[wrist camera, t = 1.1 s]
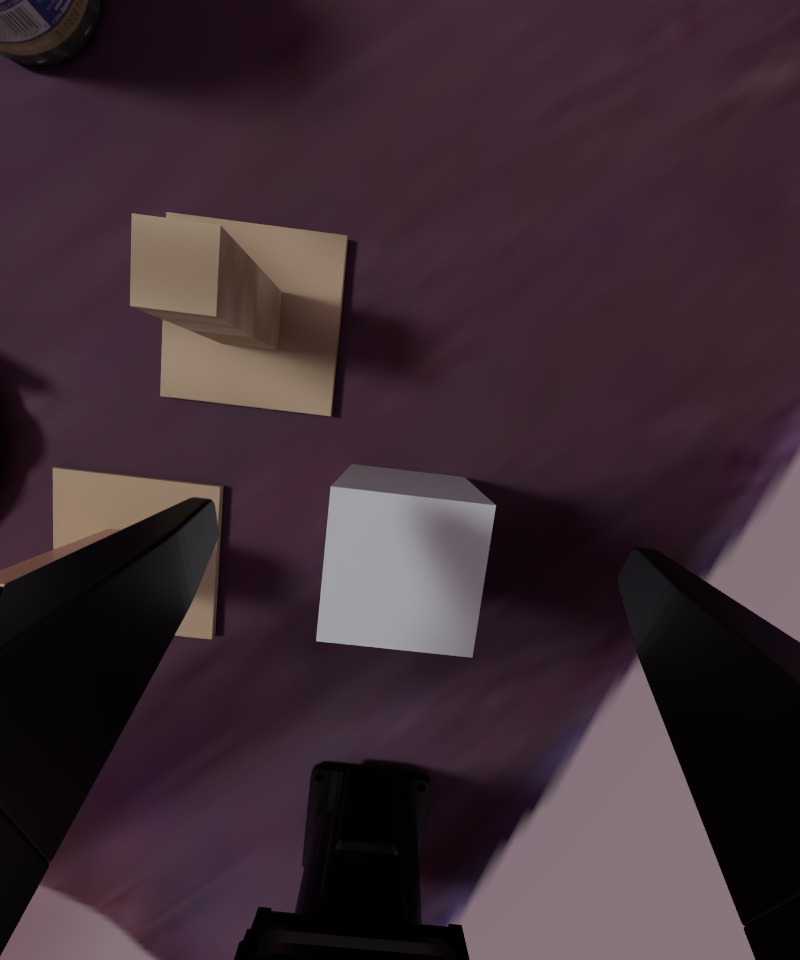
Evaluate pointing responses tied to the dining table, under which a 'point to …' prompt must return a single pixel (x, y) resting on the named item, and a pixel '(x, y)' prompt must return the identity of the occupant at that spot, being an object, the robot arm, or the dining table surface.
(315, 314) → the maple post
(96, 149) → the dining table surface
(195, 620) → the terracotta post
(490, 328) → the dining table surface
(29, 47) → the pill bottle
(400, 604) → the matte gray box
